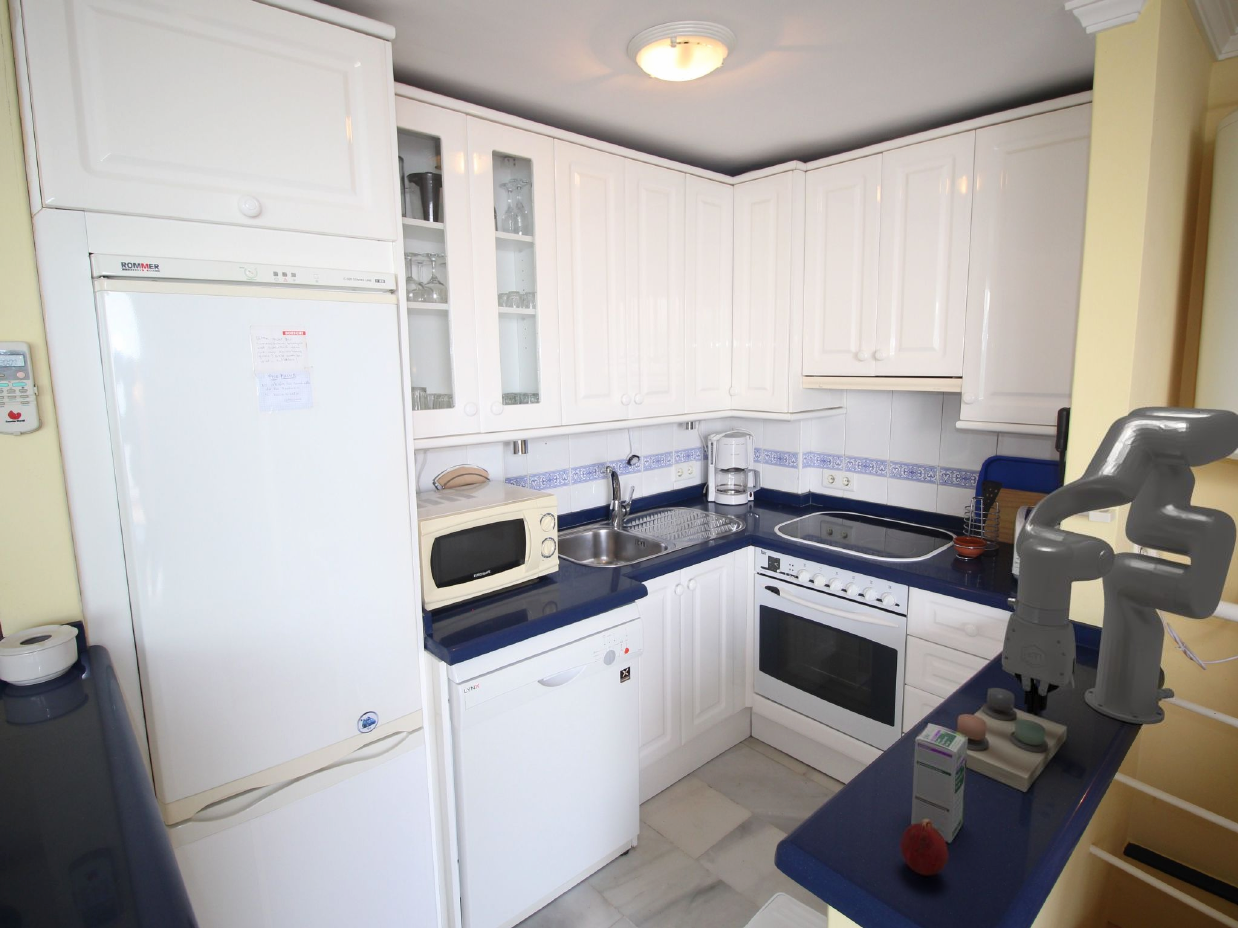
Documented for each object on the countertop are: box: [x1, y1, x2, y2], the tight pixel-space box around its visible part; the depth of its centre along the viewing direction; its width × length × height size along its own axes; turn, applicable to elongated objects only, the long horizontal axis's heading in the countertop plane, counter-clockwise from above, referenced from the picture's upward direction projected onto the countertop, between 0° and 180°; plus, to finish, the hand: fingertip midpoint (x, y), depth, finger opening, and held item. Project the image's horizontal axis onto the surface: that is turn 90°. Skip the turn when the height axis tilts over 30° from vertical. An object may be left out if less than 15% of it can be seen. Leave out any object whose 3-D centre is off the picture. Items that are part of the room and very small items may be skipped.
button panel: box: [955, 702, 1068, 793], centre depth 117 cm, size 22×13×3 cm, turn 132°
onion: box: [900, 819, 949, 876], centre depth 88 cm, size 6×6×8 cm
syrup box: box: [910, 722, 968, 844], centre depth 97 cm, size 6×6×14 cm
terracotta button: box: [956, 713, 987, 740], centre depth 114 cm, size 4×4×2 cm
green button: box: [1014, 719, 1045, 745], centre depth 114 cm, size 4×4×2 cm
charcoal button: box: [986, 687, 1016, 711], centre depth 123 cm, size 4×4×2 cm
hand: (1034, 710), depth 114 cm, fingers closed
